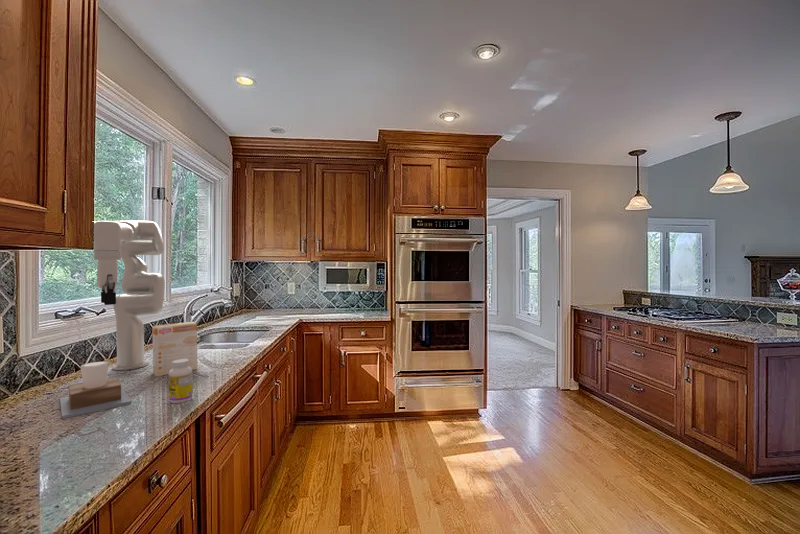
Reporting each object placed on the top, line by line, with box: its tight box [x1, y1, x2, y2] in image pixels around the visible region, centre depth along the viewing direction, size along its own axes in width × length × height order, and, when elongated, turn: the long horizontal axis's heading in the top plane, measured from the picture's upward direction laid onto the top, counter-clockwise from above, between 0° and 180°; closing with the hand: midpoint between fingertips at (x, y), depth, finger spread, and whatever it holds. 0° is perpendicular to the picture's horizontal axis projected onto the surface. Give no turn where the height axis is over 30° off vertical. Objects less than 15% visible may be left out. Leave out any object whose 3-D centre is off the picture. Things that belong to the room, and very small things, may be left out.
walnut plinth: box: [68, 376, 122, 410], centre depth 116 cm, size 12×12×5 cm
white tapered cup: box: [80, 360, 110, 389], centre depth 115 cm, size 7×7×7 cm
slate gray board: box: [59, 385, 132, 420], centre depth 116 cm, size 20×16×1 cm
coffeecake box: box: [151, 321, 199, 377], centre depth 149 cm, size 15×7×20 cm, turn 133°
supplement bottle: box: [168, 359, 194, 404], centre depth 117 cm, size 7×7×13 cm
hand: (108, 303), depth 129 cm, fingers open, 9 cm apart
